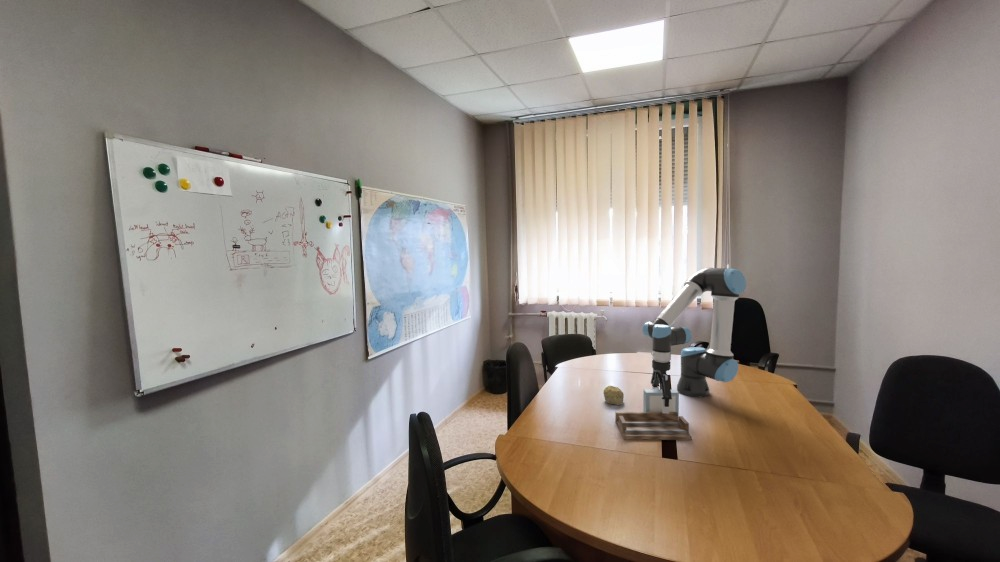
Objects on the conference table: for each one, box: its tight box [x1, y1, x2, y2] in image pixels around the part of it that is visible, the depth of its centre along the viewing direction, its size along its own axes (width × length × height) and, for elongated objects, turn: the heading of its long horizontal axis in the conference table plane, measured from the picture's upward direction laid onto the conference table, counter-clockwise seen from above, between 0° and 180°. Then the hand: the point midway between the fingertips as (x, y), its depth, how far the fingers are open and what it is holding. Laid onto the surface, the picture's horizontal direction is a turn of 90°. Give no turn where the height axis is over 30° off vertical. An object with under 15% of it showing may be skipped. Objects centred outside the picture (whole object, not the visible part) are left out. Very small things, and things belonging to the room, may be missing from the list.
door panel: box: [642, 388, 680, 420], centre depth 173 cm, size 14×4×12 cm, turn 86°
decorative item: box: [603, 385, 625, 406], centre depth 191 cm, size 10×10×10 cm
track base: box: [614, 411, 693, 441], centre depth 161 cm, size 26×16×6 cm, turn 86°
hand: (660, 406), depth 173 cm, fingers open, 13 cm apart
